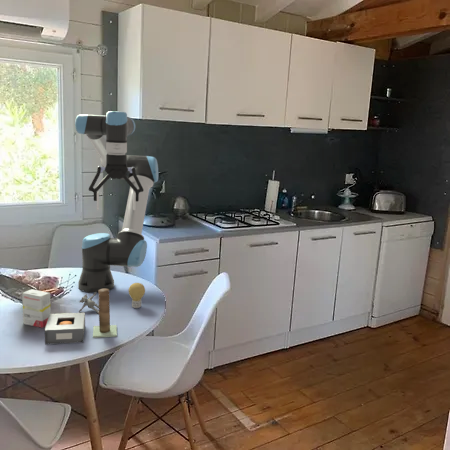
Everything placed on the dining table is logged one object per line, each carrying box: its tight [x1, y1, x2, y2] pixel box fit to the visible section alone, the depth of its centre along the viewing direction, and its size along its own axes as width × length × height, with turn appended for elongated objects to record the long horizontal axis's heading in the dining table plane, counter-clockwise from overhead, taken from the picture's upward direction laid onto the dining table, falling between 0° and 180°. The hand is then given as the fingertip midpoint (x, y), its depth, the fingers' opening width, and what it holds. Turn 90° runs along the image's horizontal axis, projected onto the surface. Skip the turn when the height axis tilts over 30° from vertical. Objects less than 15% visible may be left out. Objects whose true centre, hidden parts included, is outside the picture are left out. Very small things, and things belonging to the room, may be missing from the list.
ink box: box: [21, 288, 52, 329], centre depth 173 cm, size 9×5×12 cm, turn 72°
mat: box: [92, 324, 118, 339], centre depth 171 cm, size 8×8×1 cm
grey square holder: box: [44, 312, 86, 345], centre depth 167 cm, size 13×12×5 cm
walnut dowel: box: [98, 289, 111, 333], centre depth 168 cm, size 4×4×15 cm
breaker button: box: [60, 321, 72, 325], centre depth 167 cm, size 4×4×3 cm
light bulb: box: [128, 282, 146, 309], centre depth 192 cm, size 6×6×10 cm
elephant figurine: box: [78, 292, 99, 315], centre depth 187 cm, size 10×6×9 cm
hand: (116, 209), depth 186 cm, fingers open, 13 cm apart
